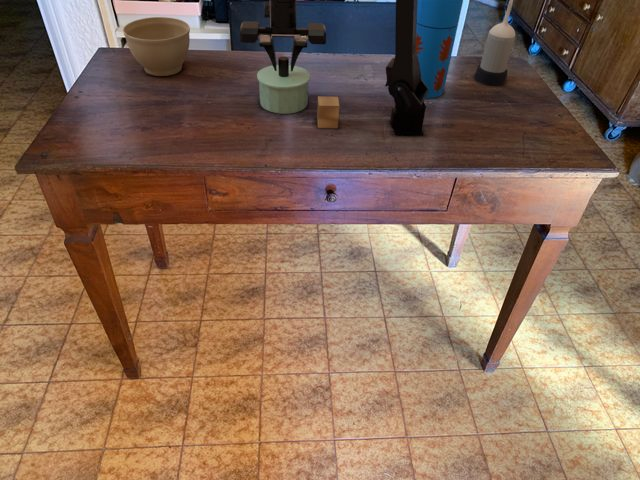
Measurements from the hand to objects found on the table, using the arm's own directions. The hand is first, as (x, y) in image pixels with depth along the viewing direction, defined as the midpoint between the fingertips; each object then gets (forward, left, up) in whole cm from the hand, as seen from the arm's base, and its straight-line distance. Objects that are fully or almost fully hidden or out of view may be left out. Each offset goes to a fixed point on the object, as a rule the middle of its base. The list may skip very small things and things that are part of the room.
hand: (283, 70), depth 116 cm
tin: (0, 0, -8) cm, 8 cm away
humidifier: (-56, -16, -8) cm, 59 cm away
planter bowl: (+32, -18, -8) cm, 38 cm away
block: (-10, +10, -8) cm, 16 cm away
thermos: (-36, -9, -8) cm, 38 cm away
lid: (0, 0, -2) cm, 2 cm away
